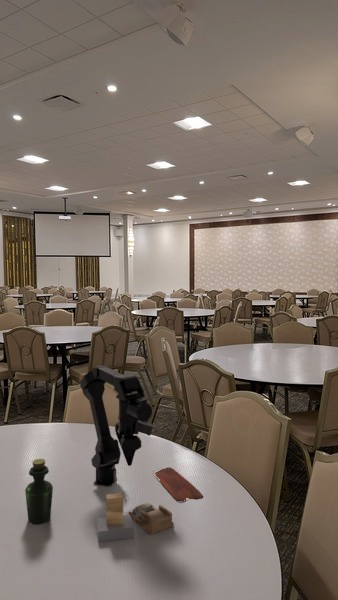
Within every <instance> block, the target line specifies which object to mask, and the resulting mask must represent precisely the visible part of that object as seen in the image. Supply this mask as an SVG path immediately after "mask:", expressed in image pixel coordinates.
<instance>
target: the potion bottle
mask: <svg viewBox="0 0 338 600" xmlns="http://www.w3.org/2000/svg"><path fill="white" fill-rule="evenodd" d="M49 472H50V470H49V468H48V466H47V465H46V459H44V458H37V459H34V460H32V467H31V468H30V469H29V472H28V475H29V476H31V477H32V478H33V481H32V482H30V483H29V484H27V486H26V487H25V490H24V491H25V501H26V510H27V520H28V522H29V523H30V524H32V525H43V524H45V523H47V522H49V521H50V518H51V515H52V502H53V490H54V486H53V484H52V483H51V482H50V481H48V480H45V477H46V475H48V474H49Z"/></svg>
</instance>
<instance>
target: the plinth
mask: <svg viewBox="0 0 338 600" xmlns="http://www.w3.org/2000/svg"><path fill="white" fill-rule="evenodd" d="M132 520H133V519H132V518H131V516H130V515H129V514H125V515H124V514H123V525H114V526H107V523H106V517H100V518H99V517H98V518H96V527H95V528H96V537H97V543H101V542H102V543H103V542H110V541H111V542H112V541H118V540H125V539H126V540H127V539H134V536H135V534H134V533H135V532H134V529H135V528H134V524H133V521H132Z"/></svg>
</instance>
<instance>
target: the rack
mask: <svg viewBox="0 0 338 600" xmlns="http://www.w3.org/2000/svg"><path fill="white" fill-rule="evenodd" d="M128 515H130V516H131V519H132V520H134V521H135V522H136V523H137V524H138V525H139V526H140V527H141V528H142V527H143V528H142V529H144V530H145V531H146V532H147V534H149V535H153V534H155V533H158V532H161V531H163V530H164V531H165V530H166V529H169V528H172V527H174V524H175V523H174V521H173V513H172V512H171V511H170V510H169V509H168V508H166V507H165V506H164V505H162V504H159V505H158V508H156V507H154V505H153V504H151V503H149V502H148V501H146V502H144V503H142V504H140V505H139V504H138V505H137V506H135V507H134V508H133V509H132V511H130V510H129V511H128ZM171 526H172V527H171Z"/></svg>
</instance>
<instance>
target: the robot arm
mask: <svg viewBox="0 0 338 600" xmlns="http://www.w3.org/2000/svg"><path fill="white" fill-rule="evenodd" d="M106 383H107V384H109V385H111V386H113V390H114V392H116V393H117V395H116V396H115V397H116V399H118V415H117V419H118V422H117V423H115V424H114V431H115V435H116V438H117V439H116V438H114V437H113V436H112V433H111V429H110V426H109V425H110V424H109V422H108V420H109V419H108V416H107V413H106V408H105V407H106V406H105V403H104V398H103V396H104V393H105V390H106V387H105V384H106ZM141 384H142V383H141V382H140V380H139V378H138V377H137V376H136V375H134V374H122V373H120V372H118V371H116V370H114V369H112V368H110V367H108V366H107V365H96V366H95V367H93V368H92V369H91V370H90V371H89V372H87V373H85V375H84V376H83V377H82V378H81V380H80V383H79V386H80V388H81V391H82V394H83V396H84V397H85V398H86V399H87V400H88V401H89V405H90V409H91V416H92V419H93V423H94V429H95V433H96V437H97V441H96V444H95V447H94V451H95V454H94V455H93V457H92V458H91V465H92V467H93V468H95V481H94V482H93V484H94V485H100V486H105V487H111V486H112V485H113V484H114V483H115V481H117V480H118V478H117V468H116V465H119V463H120V459H121V455H122V453H123V456H124V458H125V461H126V463H127V466H130V467H131V466H132V464H133V460H134V457H135V454H136V452H137V450H139V449H141V448H142V440H141V438H140V436H138V435H139V433H141V434H145V435H147V436H148V437H149V436H151V435H152V433H153V429H154V425H153V424H152V423H151V421H149V420H150V419H151V417H152V414H153V409H152V406H151V405H150V404H148V403H147V401H148V400H147V399H146V397H145V395H146V394H145V391H144V389H143V387H142V385H141ZM121 451H122V453H121Z"/></svg>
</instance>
